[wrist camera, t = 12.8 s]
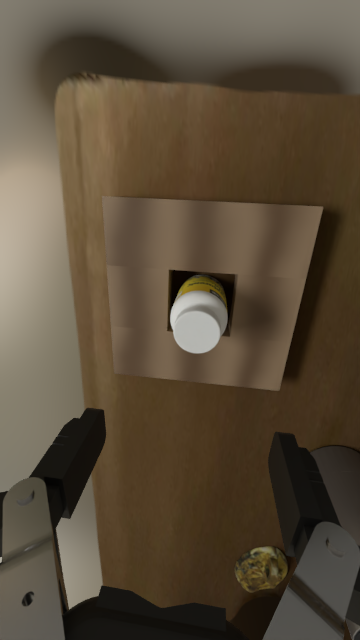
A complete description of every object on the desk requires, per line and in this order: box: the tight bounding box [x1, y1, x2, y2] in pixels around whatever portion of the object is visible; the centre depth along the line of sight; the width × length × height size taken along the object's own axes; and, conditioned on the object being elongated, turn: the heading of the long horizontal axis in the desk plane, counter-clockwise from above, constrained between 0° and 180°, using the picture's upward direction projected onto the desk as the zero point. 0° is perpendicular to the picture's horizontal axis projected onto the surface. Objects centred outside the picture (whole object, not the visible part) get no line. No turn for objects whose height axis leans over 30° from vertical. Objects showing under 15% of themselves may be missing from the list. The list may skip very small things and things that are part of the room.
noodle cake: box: [235, 546, 288, 592], centre depth 50 cm, size 9×5×15 cm
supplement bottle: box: [170, 275, 228, 353], centre depth 27 cm, size 5×5×10 cm
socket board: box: [102, 196, 323, 391], centre depth 30 cm, size 20×20×3 cm
